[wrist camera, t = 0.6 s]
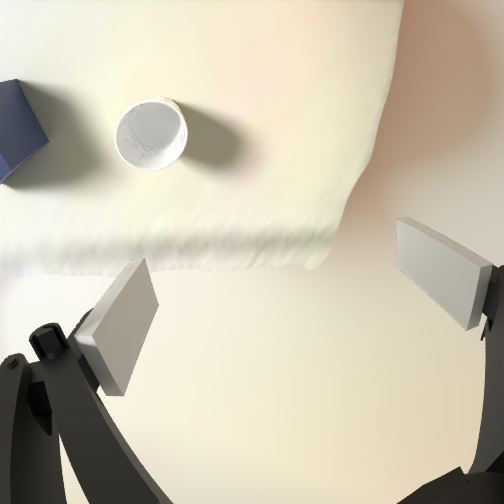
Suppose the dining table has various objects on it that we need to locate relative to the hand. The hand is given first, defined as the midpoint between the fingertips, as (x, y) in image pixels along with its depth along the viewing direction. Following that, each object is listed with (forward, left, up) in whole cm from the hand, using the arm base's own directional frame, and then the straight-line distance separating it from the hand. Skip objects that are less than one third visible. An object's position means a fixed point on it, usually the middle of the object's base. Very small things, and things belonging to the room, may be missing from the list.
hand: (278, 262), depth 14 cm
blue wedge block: (-23, -23, -30) cm, 45 cm away
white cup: (-6, -5, -30) cm, 31 cm away
